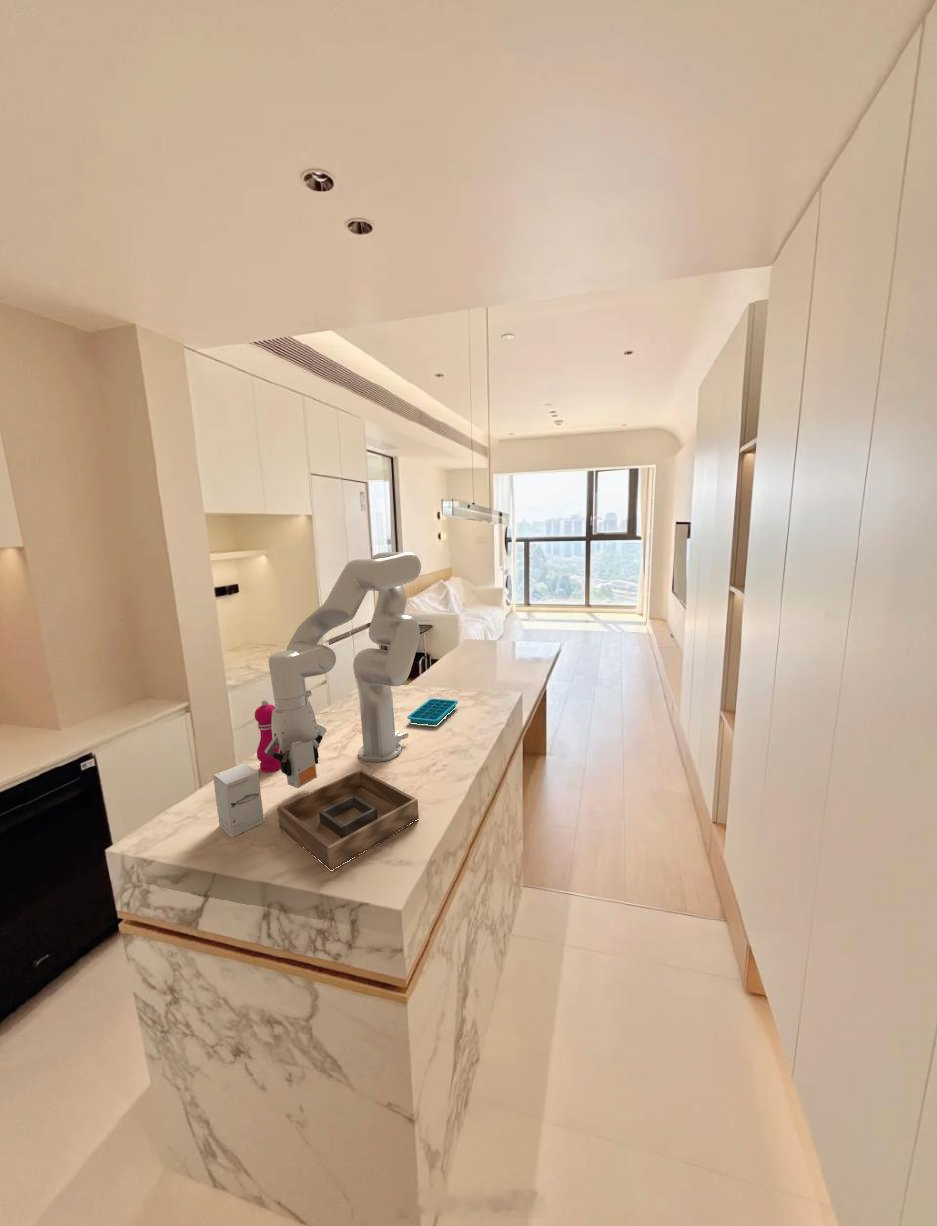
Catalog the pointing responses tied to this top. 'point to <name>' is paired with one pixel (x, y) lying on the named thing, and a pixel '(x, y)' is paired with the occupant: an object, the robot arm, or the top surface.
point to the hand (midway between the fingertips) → (301, 767)
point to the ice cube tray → (432, 711)
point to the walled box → (347, 817)
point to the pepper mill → (266, 737)
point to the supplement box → (238, 799)
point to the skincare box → (301, 764)
